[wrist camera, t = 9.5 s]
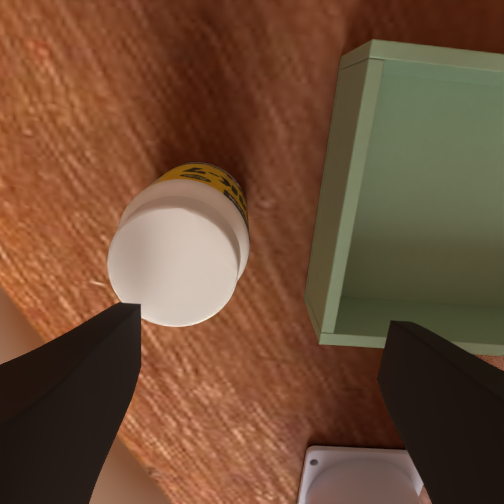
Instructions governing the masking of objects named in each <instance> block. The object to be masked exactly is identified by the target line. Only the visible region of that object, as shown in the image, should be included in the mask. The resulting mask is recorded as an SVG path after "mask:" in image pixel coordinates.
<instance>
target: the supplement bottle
mask: <svg viewBox="0 0 504 504" xmlns="http://www.w3.org/2000/svg"><path fill="white" fill-rule="evenodd" d="M249 249H250V237H249V227H248V213H247V204H246V200H245V196H244V193H243V191H242V189H241V187H240V186H239V184H238V183H237V181H236V180H235V179H234V178H233V177H232V176H231V175H230V174H229V173H227V172H226V171H224V170H223V169H221V168H219V167H217V166H215V165H212V164H208V163H203V162H191V163H185V164H182V165H179V166H177V167H175V168H173V169H171V170H169V171H168V172H167V173H165V174H164V175H162V176H161V177H160V178H158V179H157V180H156V181H154V182H153V183H152V184H150V185H149V186H148V187H146V188H145V189H144V190H142V191H141V192H140V193H139V194H137V195H136V196H135V197H134V198H133V199H132V201H131V202H130V203H129V204H128V206H127V207H126V209H125V211H124V213H123V214H122V217H121V219H120V222H119V226H118V230H117V232H116V233H115V235H114V237H113V239H112V241H111V244H110V247H109V251H108V258H107V268H108V275H109V278H110V282H111V284H112V287H113V289H114V291H115V293H116V294H117V296H118V297H119V299H120V300H121V301H122V302H123V303H135V304H141V318H143V319H145V320H147V321H149V322H152V323H155V324H159V325H163V326H173V327H178V326H189V325H193V324H197V323H200V322H202V321H205V320H207V319H209V318H210V317H212V316H213V315H215V314H216V313H217V312H218V311H220V310H221V309H222V308H223V307H224V306H225V304H226V303H227V302H228V301H229V299H230V297H231V296H232V294H233V292H234V289H235V287H236V283H237V281H238V279H239V278H240V277H241V275H242V273H243V271H244V269H245V266H246V264H247V260H248V256H249Z"/></svg>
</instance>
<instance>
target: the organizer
mask: <svg viewBox="0 0 504 504" xmlns="http://www.w3.org/2000/svg"><path fill="white" fill-rule="evenodd" d="M304 303H305V305H306V308H307V311H308V314H309V317H310V319H311V322H312V325H313V328H314V331H315V334H316V336H317V339H318V342H319V344H327V345H342V346H357V347H373V348H384V347H385V343H386V338H387V334H388V329H389V325H390V321H391V320H395V321H411V322H414V323H416V324H418V325H420V326H422V327H424V328H426V329H428V330H430V331H432V332H434V333H436V334H437V335H439V336H441V337H443V338H444V339H446V340H448V341H450V342H451V343H453V344H455V345H457V346H458V347H460V348H462V349H464V350H465V351H467V352H469V353H471V354H480V355H496V356H504V54H500V53H491V52H483V51H474V50H465V49H457V48H448V47H439V46H431V45H422V44H413V43H405V42H396V41H387V40H379V39H372V40H370V41H368V42H366V43H365V44H363V45H361V46H359V47H357V48H356V49H354V50H352V51H350V52H348V53H347V54H345V55H343V56H341V59H340V66H339V72H338V79H337V85H336V92H335V99H334V105H333V112H332V118H331V125H330V131H329V138H328V144H327V151H326V157H325V164H324V170H323V177H322V183H321V190H320V196H319V203H318V209H317V216H316V222H315V229H314V235H313V242H312V249H311V255H310V262H309V268H308V275H307V281H306V288H305V294H304Z"/></svg>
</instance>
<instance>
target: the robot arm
mask: <svg viewBox="0 0 504 504" xmlns="http://www.w3.org/2000/svg"><path fill="white" fill-rule="evenodd" d="M140 368H141V304H135V303H120V302H119V303H117V304H115V305H113V306H111V307H109V308H108V309H106V310H104V311H103V312H101V313H99V314H98V315H96V316H94V317H93V318H91V319H89V320H88V321H86V322H84V323H83V324H81V325H79V326H78V327H76V328H74V329H72V330H71V331H69V332H67V333H65V334H63V335H61V336H60V337H58V338H56V339H54V340H52V341H50V342H48V343H46V344H44V345H43V346H41V347H39V348H37V349H35V350H33V351H31V352H28V353H26V354H24V355H22V356H20V357H17V358H15V359H12V360H10V361H8V362H5V363H3V364H1V365H0V504H89V502H90V498H91V495H92V492H93V489H94V487H95V484H96V481H97V479H98V476H99V474H100V471H101V469H102V466H103V464H104V462H105V459H106V457H107V455H108V453H109V450H110V448H111V446H112V443H113V441H114V439H115V437H116V434H117V432H118V430H119V427H120V425H121V423H122V420H123V418H124V416H125V413H126V411H127V409H128V406H129V404H130V402H131V399H132V397H133V393H134V390H135V387H136V383H137V379H138V376H139V372H140ZM377 381H378V384H379V387H380V390H381V394H382V397H383V400H384V402H385V405H386V408H387V411H388V413H389V415H390V417H391V419H392V421H393V423H394V426H395V428H396V430H397V432H398V434H399V436H400V438H401V440H402V442H403V444H404V446H405V448H406V450H393V449H373V448H352V447H332V446H311V447H309V448H308V449H307V451H306V456H305V461H304V467H303V472H302V478H301V483H300V489H299V494H298V500H297V504H422V503H421V501H420V499H419V495H420V492H421V489H422V486H423V484H424V486H425V488H426V491H427V493H428V495H429V497H430V500H431V502H432V504H504V371H502V370H500V369H498V368H496V367H494V366H493V365H491V364H489V363H487V362H485V361H483V360H481V359H480V358H478V357H476V356H474V355H473V354H471V353H469V352H467V351H465V350H464V349H462V348H460V347H458V346H457V345H455V344H453V343H451V342H450V341H448V340H446V339H444V338H443V337H441V336H439V335H437V334H436V333H434V332H432V331H430V330H428V329H426V328H424V327H422V326H420V325H418V324H416V323H414V322H411V321H395V320H391V321H390V325H389V329H388V334H387V338H386V343H385V347H384V351H383V356H382V360H381V364H380V369H379V373H378V377H377ZM313 459H315V460H313Z"/></svg>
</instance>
